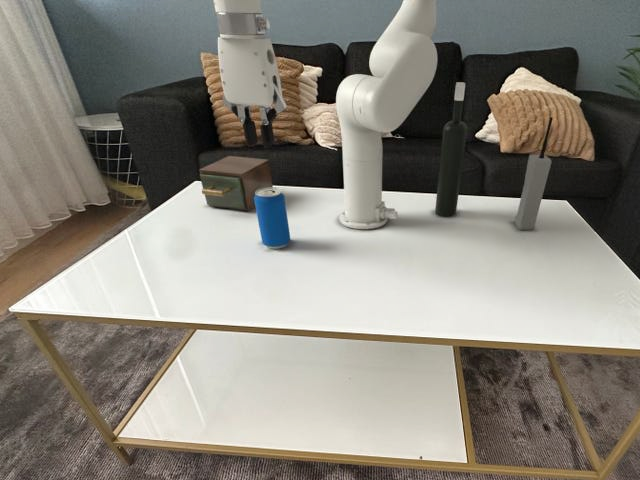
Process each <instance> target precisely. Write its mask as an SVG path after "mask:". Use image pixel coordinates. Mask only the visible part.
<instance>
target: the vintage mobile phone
mask: <svg viewBox="0 0 640 480" xmlns="http://www.w3.org/2000/svg"><path fill="white" fill-rule="evenodd" d="M553 119H554V117H552V116H551V117H549V119H548V124H547V128H546V131H545V132H546V133H545V137H544V140H543V142H542V146H541V150H540V153H539V154H532V153H531V154H529V155H528V160H527V164H526V165H527V166H526V170H525V177H524V183H523V187H522V192H521V196H520V200H519V205H518V207H517V208H518V209H517V213H516V215H515V217H514V221H513V223H514V224H515V226H516V227H517V228H518V230H520V231H534V230H535V225H536V222H537V218H538V215H539V210H540V207H541V202H542V199H543V196H544V191H545V188H546V184H547V181H548V176H549V173H550V169H551V165H552V159H551V158H549V157H548V156H547V155H546V154H545V153H546V149H547V145H548V139H549V135H550V131H551V127H552V123H553Z"/></svg>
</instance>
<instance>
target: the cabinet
mask: <svg viewBox="0 0 640 480" xmlns="http://www.w3.org/2000/svg"><path fill="white" fill-rule="evenodd" d="M198 171H199V175H200V174H217V175H226V176H235V177H240V178H241V183H242V188H243V193H244V198H245V203H246V208H245V209H239V208H231V207H223V206H215V205H208V207H211V208H212V207H213V208H221V209H228V210H229V209H230V210H238V211H245V212H250V211H252V210H254V209H256V206H255V201H254V197H255V195H256V194H255V191H256V190H258V189H261V188H268V187H273V179H272V174H271V166H270V160H269V159H265V158H256V157H244V156H235V155H234V156H233V155H227V156H226V157H224V158H221V159H218V160H216V161H214V162H213V163H211V164H209V165H205V166H203V167H202V168H199V169H198ZM273 188H274V187H273Z"/></svg>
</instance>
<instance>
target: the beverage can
mask: <svg viewBox="0 0 640 480" xmlns="http://www.w3.org/2000/svg"><path fill="white" fill-rule="evenodd" d="M255 194H256V195H255V197H254V201H255V206H256V207H255V211H256V216H257V221H258V226H259V232H260V238H261V244H262V245H264V246H265V247H267V248H269V249H272V250H278V249H283V248H285V247H287V246H288V245H289V244H290V243H291V234H290V225H289V220H288V213H287V205H286V198H285V195H284V194H283V191H282V189H281V188H278V187H268V188H261V189H258V190H256V191H255Z"/></svg>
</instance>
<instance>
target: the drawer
mask: <svg viewBox="0 0 640 480" xmlns="http://www.w3.org/2000/svg"><path fill="white" fill-rule="evenodd" d="M199 178H200V181H201V186H202V189H201V193H202V195H204V198H205V201H206V205H208V206H209V205H215V206H223V207H231V208H239V209H245V208H246V203H245V198H244V193H243V188H242V183H241V178H240V177H235V176H226V175H217V174H200V173H199Z"/></svg>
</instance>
